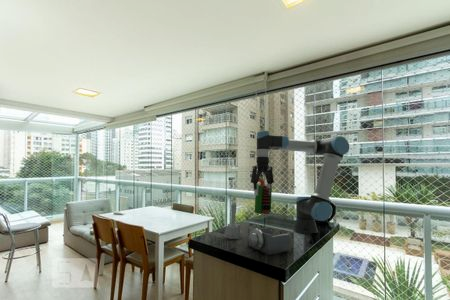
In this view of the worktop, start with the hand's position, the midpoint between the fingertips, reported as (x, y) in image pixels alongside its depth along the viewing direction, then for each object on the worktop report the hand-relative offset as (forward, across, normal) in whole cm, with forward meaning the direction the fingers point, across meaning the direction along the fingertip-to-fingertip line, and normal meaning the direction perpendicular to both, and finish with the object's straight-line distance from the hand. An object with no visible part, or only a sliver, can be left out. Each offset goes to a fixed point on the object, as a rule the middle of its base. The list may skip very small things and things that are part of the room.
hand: (262, 195), depth 138 cm
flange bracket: (+25, +9, +14) cm, 30 cm away
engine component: (+26, +12, -12) cm, 31 cm away
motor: (+11, 0, 0) cm, 11 cm away
